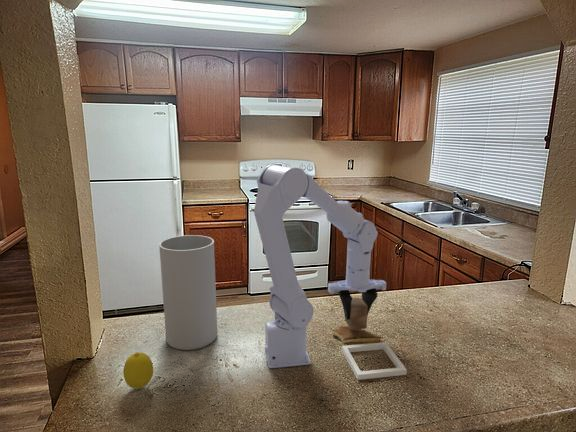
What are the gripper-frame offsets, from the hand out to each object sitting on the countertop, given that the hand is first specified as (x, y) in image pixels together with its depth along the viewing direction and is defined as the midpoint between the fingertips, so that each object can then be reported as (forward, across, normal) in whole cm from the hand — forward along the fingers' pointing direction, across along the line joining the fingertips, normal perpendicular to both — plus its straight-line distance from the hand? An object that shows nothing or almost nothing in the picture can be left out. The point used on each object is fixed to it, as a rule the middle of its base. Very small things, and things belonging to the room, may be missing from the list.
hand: (355, 317), depth 97 cm
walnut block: (+2, 0, 0) cm, 2 cm away
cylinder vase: (+5, -41, +5) cm, 42 cm away
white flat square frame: (+5, 0, -12) cm, 13 cm away
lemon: (+5, -50, -13) cm, 52 cm away
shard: (+6, 0, 0) cm, 6 cm away
